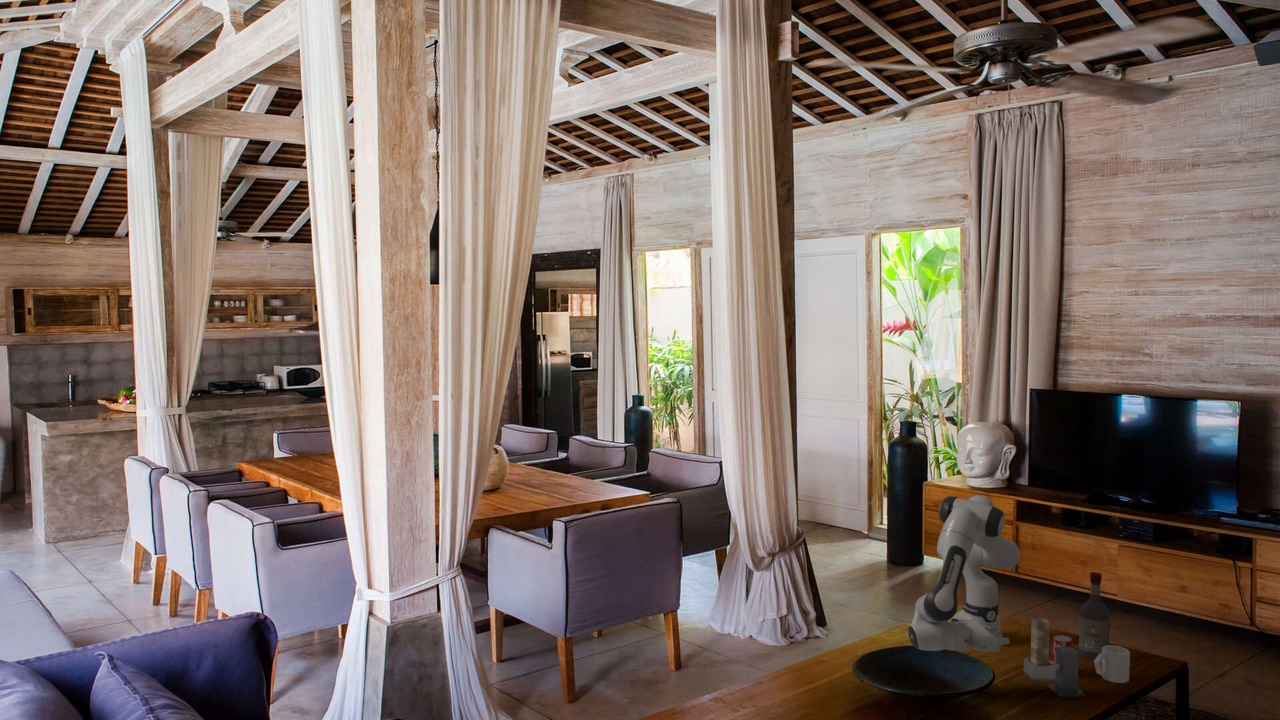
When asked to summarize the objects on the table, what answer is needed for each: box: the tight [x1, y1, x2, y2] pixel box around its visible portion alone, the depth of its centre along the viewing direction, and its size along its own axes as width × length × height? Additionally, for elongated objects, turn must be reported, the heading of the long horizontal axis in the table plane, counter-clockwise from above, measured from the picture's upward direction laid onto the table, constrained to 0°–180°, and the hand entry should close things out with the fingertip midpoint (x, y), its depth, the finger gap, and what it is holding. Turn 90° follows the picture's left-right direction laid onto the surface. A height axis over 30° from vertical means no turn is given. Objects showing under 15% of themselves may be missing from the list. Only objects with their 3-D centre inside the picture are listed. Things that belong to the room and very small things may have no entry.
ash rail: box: [1030, 617, 1050, 666], centre depth 306 cm, size 4×4×18 cm
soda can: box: [1050, 634, 1075, 661], centre depth 324 cm, size 7×7×12 cm
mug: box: [1093, 644, 1131, 684], centre depth 318 cm, size 12×9×10 cm
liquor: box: [1078, 571, 1111, 661], centre depth 339 cm, size 9×9×30 cm
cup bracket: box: [1023, 647, 1085, 698], centre depth 307 cm, size 17×8×14 cm, turn 92°
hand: (1002, 635), depth 306 cm, fingers open, 8 cm apart
